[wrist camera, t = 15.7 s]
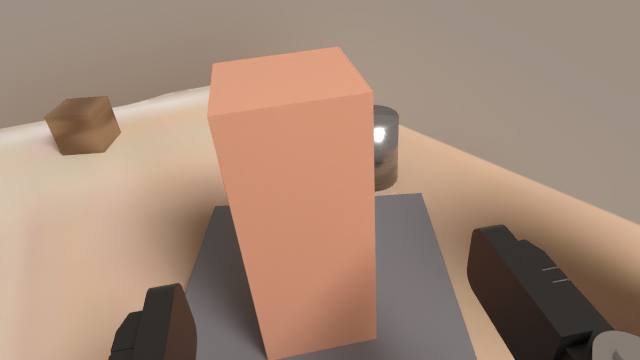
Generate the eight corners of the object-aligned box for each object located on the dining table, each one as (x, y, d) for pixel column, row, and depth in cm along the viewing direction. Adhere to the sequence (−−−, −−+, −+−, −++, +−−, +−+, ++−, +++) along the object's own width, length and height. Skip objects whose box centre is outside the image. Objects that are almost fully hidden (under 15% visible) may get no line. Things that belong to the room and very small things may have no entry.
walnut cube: (62, 156, 40) (44, 117, 38) (82, 136, 43) (66, 99, 41) (104, 153, 40) (88, 113, 37) (121, 133, 43) (107, 96, 41)
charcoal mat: (113, 543, 15) (103, 533, 14) (218, 217, 30) (215, 206, 29) (525, 532, 14) (531, 521, 14) (420, 205, 29) (421, 193, 29)
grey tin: (345, 193, 31) (342, 132, 28) (343, 164, 34) (340, 107, 32) (401, 189, 31) (402, 127, 28) (393, 161, 34) (394, 103, 31)
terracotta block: (268, 361, 19) (206, 116, 12) (261, 279, 23) (212, 63, 17) (376, 338, 20) (373, 91, 13) (350, 262, 24) (338, 46, 17)
